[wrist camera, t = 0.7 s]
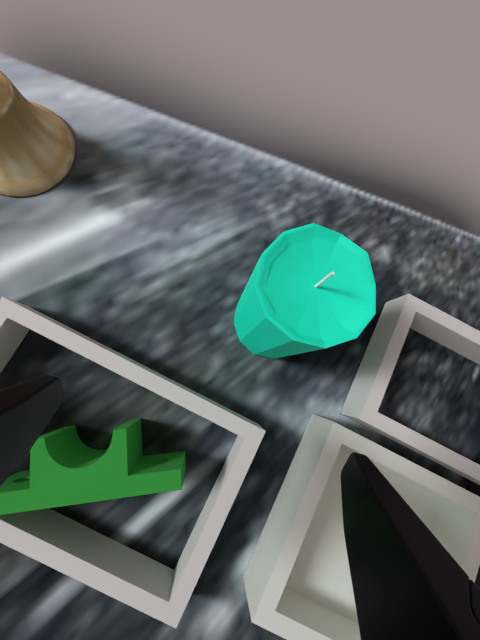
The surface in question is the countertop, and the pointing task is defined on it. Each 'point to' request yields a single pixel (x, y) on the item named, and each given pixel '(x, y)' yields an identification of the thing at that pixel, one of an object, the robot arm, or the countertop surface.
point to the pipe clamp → (90, 471)
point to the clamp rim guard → (96, 549)
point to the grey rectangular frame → (382, 363)
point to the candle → (306, 294)
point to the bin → (340, 534)
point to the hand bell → (31, 145)
